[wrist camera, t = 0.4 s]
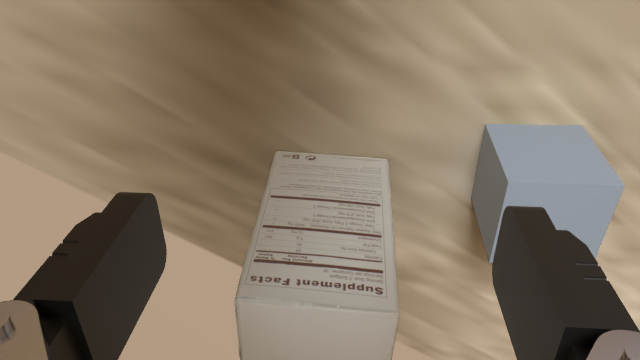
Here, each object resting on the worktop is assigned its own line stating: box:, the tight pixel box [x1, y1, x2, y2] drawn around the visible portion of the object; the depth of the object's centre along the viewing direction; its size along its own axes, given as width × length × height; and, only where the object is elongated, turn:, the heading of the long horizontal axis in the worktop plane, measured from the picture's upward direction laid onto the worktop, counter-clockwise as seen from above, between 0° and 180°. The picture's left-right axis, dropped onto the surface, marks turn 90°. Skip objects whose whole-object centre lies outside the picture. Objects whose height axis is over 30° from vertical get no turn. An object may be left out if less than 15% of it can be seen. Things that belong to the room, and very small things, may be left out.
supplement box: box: [235, 151, 399, 360], centre depth 28 cm, size 7×7×13 cm
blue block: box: [471, 124, 625, 263], centre depth 29 cm, size 6×6×6 cm
